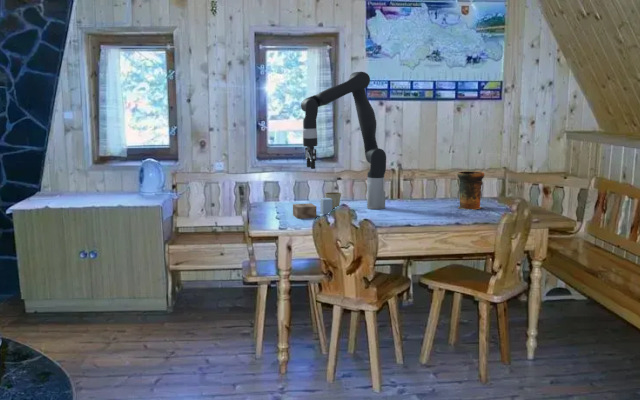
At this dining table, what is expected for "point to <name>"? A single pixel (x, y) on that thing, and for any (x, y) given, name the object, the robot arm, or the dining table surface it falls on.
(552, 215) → the dining table surface
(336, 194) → the flower pot
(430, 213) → the dining table surface
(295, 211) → the walnut box
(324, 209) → the light grey block
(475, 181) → the vessel
